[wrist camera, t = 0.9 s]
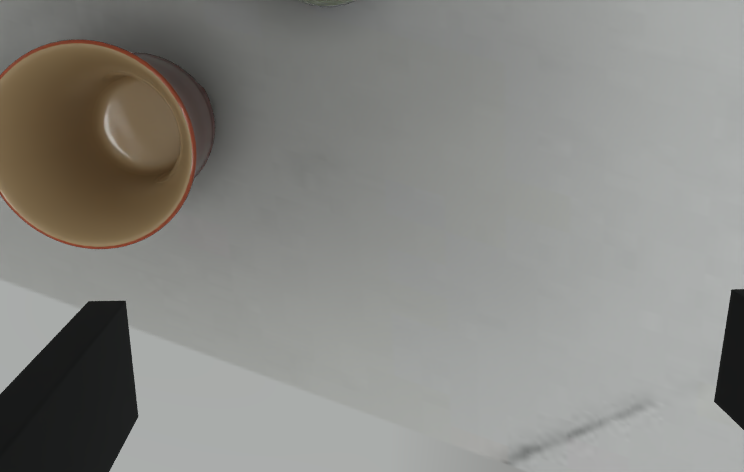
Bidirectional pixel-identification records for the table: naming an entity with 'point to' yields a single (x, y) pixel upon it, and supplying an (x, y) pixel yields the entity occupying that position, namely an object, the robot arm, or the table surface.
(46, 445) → the robot arm
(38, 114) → the mug
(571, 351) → the table surface
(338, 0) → the tins
